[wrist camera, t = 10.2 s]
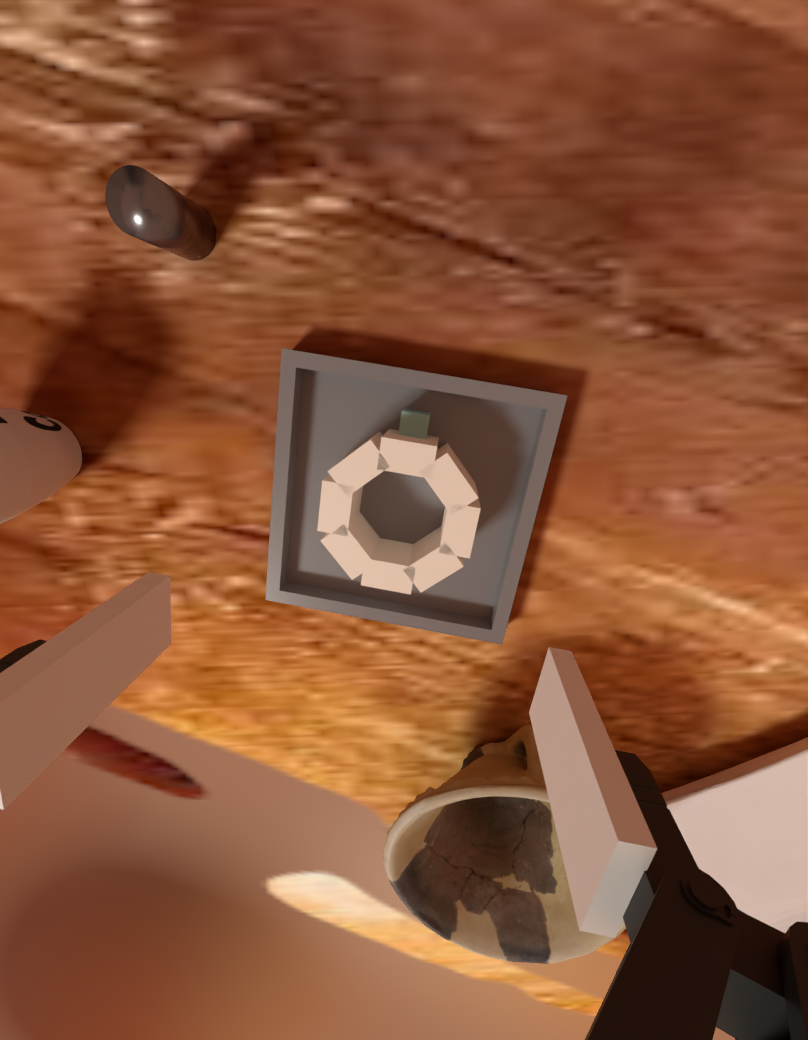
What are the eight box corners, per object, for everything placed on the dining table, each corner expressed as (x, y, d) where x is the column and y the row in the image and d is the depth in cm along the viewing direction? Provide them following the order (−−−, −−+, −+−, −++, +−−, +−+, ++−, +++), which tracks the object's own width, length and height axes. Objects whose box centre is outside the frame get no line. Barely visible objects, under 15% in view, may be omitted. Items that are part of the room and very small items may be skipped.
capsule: (166, 199, 29) (103, 160, 23) (216, 206, 28) (164, 169, 23) (167, 256, 30) (107, 232, 24) (215, 264, 29) (165, 241, 24)
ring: (327, 553, 35) (312, 576, 31) (344, 398, 31) (330, 402, 27) (458, 577, 34) (459, 603, 30) (492, 423, 30) (497, 430, 27)
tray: (291, 349, 31) (281, 348, 29) (560, 393, 30) (567, 395, 28) (275, 587, 36) (265, 599, 35) (499, 629, 36) (502, 644, 34)
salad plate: (949, 862, 39) (994, 907, 36) (704, 934, 44) (724, 979, 41) (861, 682, 35) (903, 715, 31) (600, 786, 40) (614, 822, 37)
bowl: (434, 659, 37) (429, 753, 28) (642, 729, 37) (703, 844, 28) (372, 809, 43) (351, 926, 34) (553, 869, 43) (580, 1001, 34)
